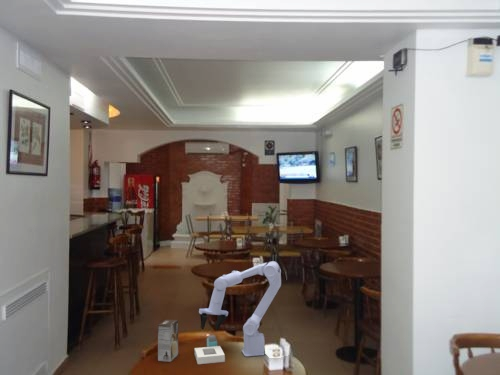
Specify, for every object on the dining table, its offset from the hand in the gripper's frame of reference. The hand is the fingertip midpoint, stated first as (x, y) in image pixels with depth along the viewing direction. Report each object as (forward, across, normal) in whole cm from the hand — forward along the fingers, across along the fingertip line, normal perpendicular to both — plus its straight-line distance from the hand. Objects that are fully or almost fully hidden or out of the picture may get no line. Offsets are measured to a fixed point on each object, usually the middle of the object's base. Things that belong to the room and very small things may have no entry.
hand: (209, 329), depth 207 cm
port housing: (+9, +2, +11) cm, 14 cm away
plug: (+10, -4, +1) cm, 10 cm away
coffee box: (+14, +18, +2) cm, 23 cm away
